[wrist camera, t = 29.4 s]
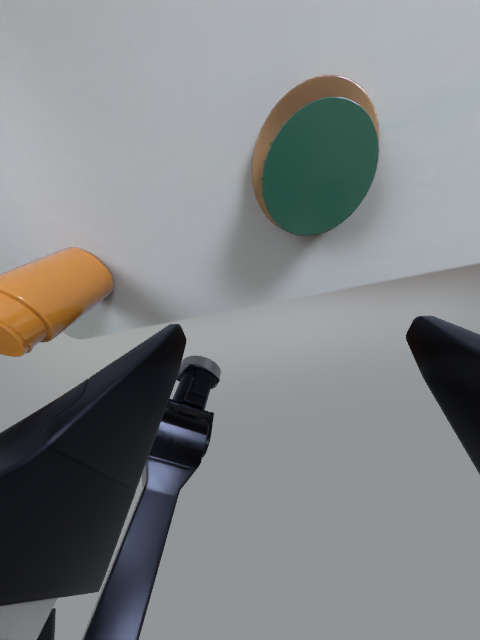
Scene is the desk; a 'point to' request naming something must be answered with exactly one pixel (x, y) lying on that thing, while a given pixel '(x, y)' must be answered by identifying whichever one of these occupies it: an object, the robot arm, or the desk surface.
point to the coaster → (293, 103)
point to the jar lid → (320, 166)
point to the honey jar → (49, 297)
